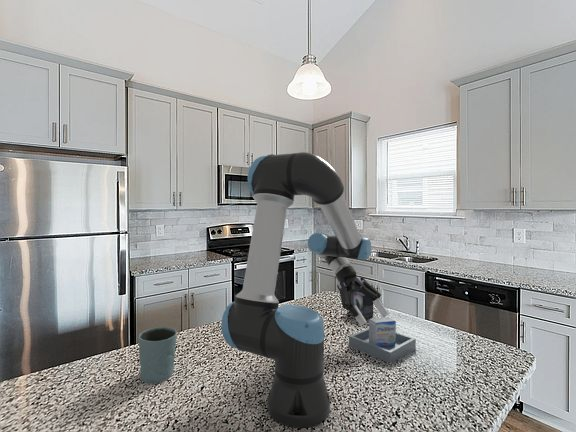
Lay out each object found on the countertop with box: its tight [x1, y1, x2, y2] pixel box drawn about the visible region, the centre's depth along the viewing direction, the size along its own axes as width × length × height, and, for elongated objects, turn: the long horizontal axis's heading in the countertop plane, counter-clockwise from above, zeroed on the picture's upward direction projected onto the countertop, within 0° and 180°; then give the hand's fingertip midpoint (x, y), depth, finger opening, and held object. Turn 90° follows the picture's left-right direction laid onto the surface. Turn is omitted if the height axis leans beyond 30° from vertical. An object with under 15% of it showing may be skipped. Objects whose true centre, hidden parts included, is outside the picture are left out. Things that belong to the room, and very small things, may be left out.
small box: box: [348, 292, 374, 320], centre depth 143 cm, size 11×6×10 cm, turn 25°
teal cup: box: [137, 326, 178, 384], centre depth 90 cm, size 10×10×12 cm
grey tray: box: [348, 327, 417, 364], centre depth 109 cm, size 16×16×4 cm
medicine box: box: [368, 316, 397, 347], centre depth 109 cm, size 8×4×9 cm, turn 105°
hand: (375, 319), depth 112 cm, fingers open, 13 cm apart
